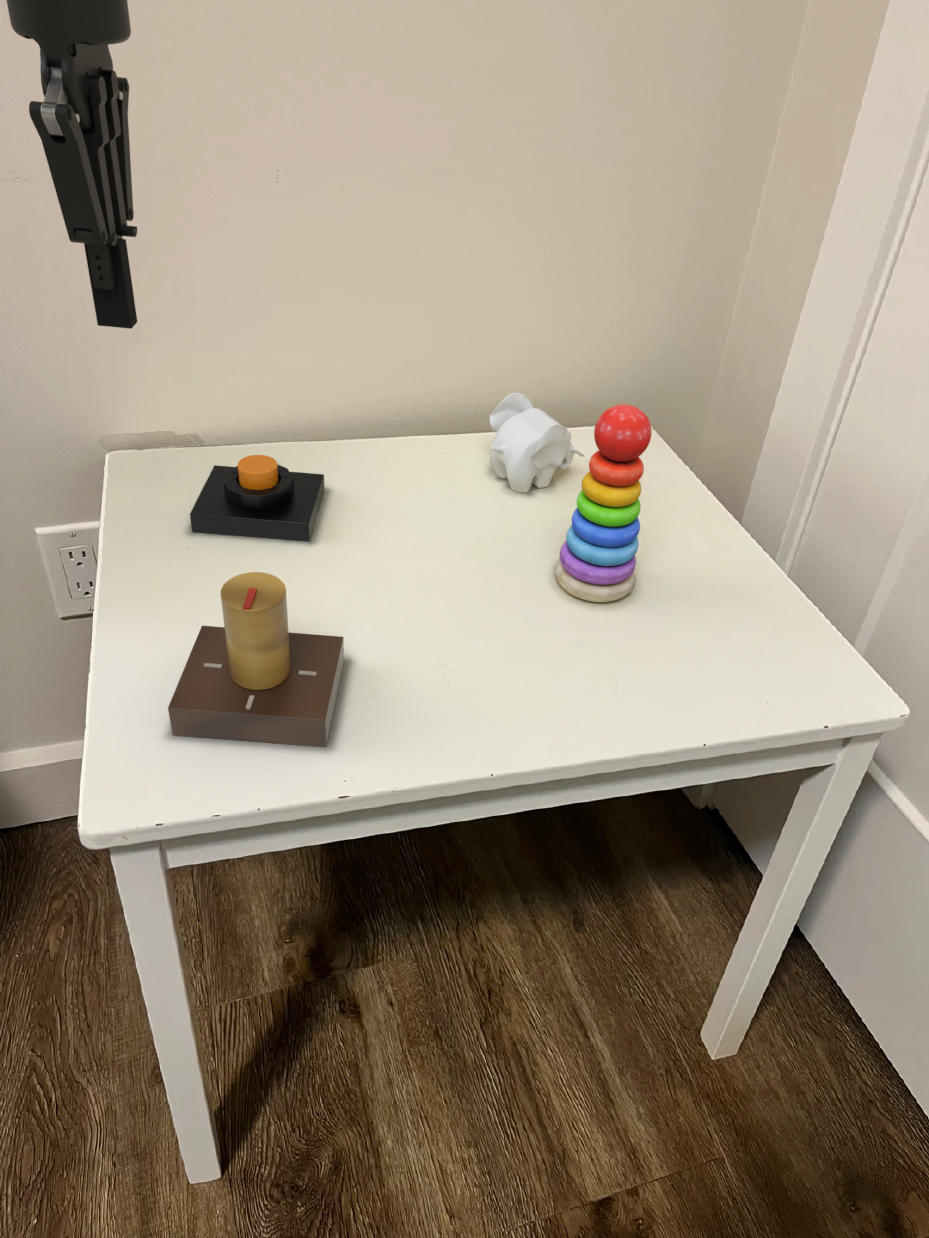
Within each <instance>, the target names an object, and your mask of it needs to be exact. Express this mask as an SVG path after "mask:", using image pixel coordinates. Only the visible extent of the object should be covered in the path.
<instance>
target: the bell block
mask: <svg viewBox="0 0 929 1238" xmlns="http://www.w3.org/2000/svg"><path fill="white" fill-rule="evenodd" d="M277 466H278V483H277V485H275V486H273V487H272V488H268V489H262V490H252V489H246V488H244V487H242V486H241V485H240V484H239V477H238V465H236V466H229V465H216V464H214V465H213V467H212V469H211V471H210V473H209V475H208V477H207V479H206V481H205V483H204V485H203V487H202V489H201V491H200V493H199V495H198V497H197V499H196V500H195V502H194V505H193V506H192V509H191V511H190V513H189V519H190V527H191V532H192V533H202V534H214V535H226V536H237V537H250V538H263V539H273V540H287V541H299V542H311V541H310V540H311V537H312V534H313V531H314V527H315V524H316V521H317V517H318V514H319V511H320V507H321V503H322V501H323V498H324V495H325V474H323V473H311V472H301V471H290V470H289V469H288V467H285V466H283V465H280V464H278V463H277Z"/></svg>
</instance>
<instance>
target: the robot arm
mask: <svg viewBox="0 0 929 1238" xmlns="http://www.w3.org/2000/svg"><path fill="white" fill-rule="evenodd" d="M6 7H7V11H8V17H9V22H10V26H11V28H12V30H13V32H15V34H16V35H18V36H20V37H22V38H24V39H26V40H27V39H28V40H33V41H34V42H36V44H37V45H38V48H39V58H40V82H41V88H42V95H43V97H44V98H43V101H37V100H36V101H35V100H31V101H29V105H28V113H29V117H30V120H31V121H32V124H33V126H34V128H35V130H36V131H37V134H38V136H39V138H40V140H41V145H42V147H43V151H44V155H45V158H46V162H47V165H48V169H49V172H50V175H51V176H50V177H51V180H52V182H53V187H54V190H55V193H56V197H57V200H58V204H59V208H60V211H61V215H62V218H63V221H64V225H65V229H66V232H67V236H68V240H69V241H70V242H71V243H75V244H76V243H78V244H83V246H84V253H85V258H86V263H87V264H86V265H87V270H88V275H89V276H88V277H89V282H90V288H91V293H92V299H93V307H94V311H95V317H96V318H95V319H96V324H97V327H98V326H99V327H108V328H109V327H110V328H118V329H131V330H132V329H133V328H134V327H135V325H136V324H137V323H138V316H137V309H136V303H135V302H136V301H135V295H134V288H133V282H132V281H133V280H132V274H131V267H130V266H131V265H130V260H129V252H128V244H127V239H126V238H123V237H129V238H130V237H131V238H136V237H137V235H138V226H134V225H128V222H132V221H133V220H134V214H135V212H134V197H133V181H132V180H133V179H132V164H131V162H132V161H131V146H130V145H131V144H130V128H129V102H130V101H129V100H130V99H129V98H130V84H129V80H128V78H126V77H122V76H118V75H117V72H116V71H115V70H114V63H113V58H112V56H111V52H110V48H109V45H118V44H122V43H124V42H126V41H128V40H129V39H130V37H131V35H132V27H131V20H130V19H131V18H130V12H129V2H128V0H6Z"/></svg>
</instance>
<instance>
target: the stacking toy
mask: <svg viewBox="0 0 929 1238" xmlns="http://www.w3.org/2000/svg"><path fill="white" fill-rule="evenodd" d="M593 435H594V437H593V438H594V442H595V446H596V447H597V449H598V450H597V451H596V452H594V453H593V454H592V455H591V457H590V458H589V460H588V461H589V462H588V469H589V471H587V473H586V474H585V475H584V476H583V478H582V480H581V490H580V491H579V493H578V495H577V498H576V508H575V509H574V511H573V513H572V515H571V525H570V526H569V528H568V530H567V533H566V539H565V541H564V542H563V543H562V546H560V550H559V559H558V560H557V562H556V565H555V577H556V580H557V582H558V583H559V585H560V586H561V588H562V589H564V591H566V592H567V593H569V594H570V595H571V596H574V597H576V598H578V599H581V600H583V601H587V602H594V603H608V602H615V601H617V600H620V599H622V598H624V597H626V596H627V595H628V594H629V593H630V592H631V591H632V590H633V589H634V586H635V585H636V584H635V583H636V572H635V568H636V566H637V557H636V554H637V552H638V551H639V545H640V544H639V537H638V535H639V533H640V531H641V524H640V523H641V522H640V519H639V516H640V515H639V514H640V513H641V502H640V501H641V500H640V499H639V498H640V496H641V494H642V485H641V482H640V479H641V478H642V476H643V474H644V470H645V466H644V462H643V461H642V459H641V458H640V456H642V455H643V454H644V453H645V451H647V448H648V447H649V445H650V442H651V439H652V425H651V422H650V419H649V418H648V416H647V415H646V413H644V412H643V410H642V409H640V408H638V407H636V406H634V405H631V404H616V405H614V406H611V407H609V408H607V409H606V410H605V411H603V412H602V413H601V415H600V416H599V417H598V419H597V421H596V422H595V426H594V431H593Z"/></svg>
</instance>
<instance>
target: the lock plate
mask: <svg viewBox="0 0 929 1238" xmlns="http://www.w3.org/2000/svg"><path fill="white" fill-rule="evenodd" d="M344 644H345V641H344V636H338V635H327V634H313V633H303V632H302V633H301V632H289V647H290V664H291V670H290V673H289V675H288V677H287V678H286V679H285V680H284V681H283V682H282V683H281V684H279V685H277V686H275V687H272V688H269V689H264V690H251V689H246V688H243V687H241V686H239V685H238V684H236V683H235V682H234V681H233V680H232V678H231V676H230V671H229V662H228V654H227V645H226V636H225V628H224V626H212V625H201V627H200V629H199V632H198V634H197V637H196V639H195V641H194V644H193V646H192V648H191V651H190V653H189V656H188V658H187V661H186V663H185V666H184V668H183V670H182V672H181V675H180V678H179V680H178V683H177V685H176V687H175V690H174V692H173V694H172V697H171V700H170V702H169V704H168V706H167V710H168V715H169V722H170V727H171V731H172V736H178V737H190V738H202V739H203V738H204V739H216V740H217V739H218V740H228V741H229V740H230V741H243V742H256V743H268V744H281V745H291V746H292V745H293V746H306V747H309V746H310V747H319V748H327V745H328V740H329V735H330V730H331V725H332V722H333V721H332V720H333V716H334V711H335V707H336V702H337V697H338V693H339V687H340V682H341V678H342V673H343V669H344V664H345V655H344V654H345V653H344V651H345V648H344V646H345V645H344Z"/></svg>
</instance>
